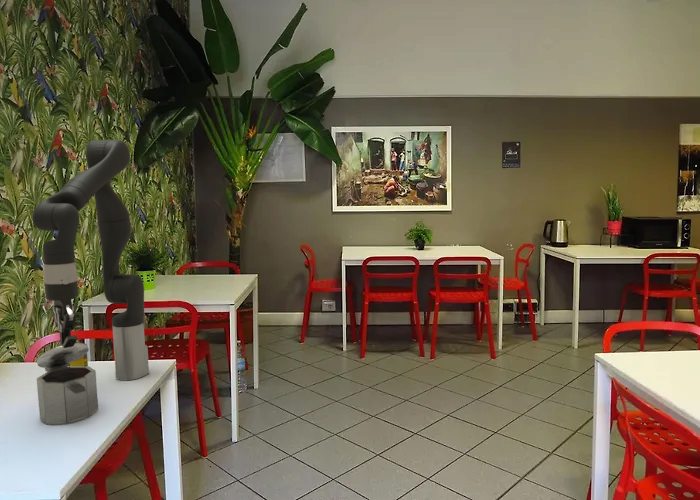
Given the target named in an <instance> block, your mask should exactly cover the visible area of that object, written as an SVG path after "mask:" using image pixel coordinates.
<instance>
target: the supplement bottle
mask: <svg viewBox="0 0 700 500" xmlns="http://www.w3.org/2000/svg"><path fill="white" fill-rule="evenodd" d="M88 360H89V359H88V352H87V353H86V354H85V355H84V356H83V357H81V358H80V359H78V360H76V361H73V362H71V363H70V366H68V367H75V366H89V362H88Z"/></svg>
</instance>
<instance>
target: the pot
mask: <svg viewBox="0 0 700 500" xmlns="http://www.w3.org/2000/svg"><path fill="white" fill-rule="evenodd" d="M36 388H37V397H38V398H37V401H38V410H39V412H38V413H39V420H40V422H41V423H43V424H45V425H47V426H49V425H50V426H61V425H69V424H74V423H77V422H80V421H84V420H86V419H89V418H91V417H92V416H94V415H95V414H96V413H97V412H98V410H99V400H98V399H99V397H98V387H97V372H96V370H95V369H93V368H92V367H90V366H89V365H88V366H75V367H69V366H68V367H64V368H59V369H55V370H51V371H45V373H43V374H41V375H40V376H38V377H36Z"/></svg>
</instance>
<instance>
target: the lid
mask: <svg viewBox="0 0 700 500" xmlns="http://www.w3.org/2000/svg"><path fill="white" fill-rule="evenodd" d="M77 340H78V335H77V334H74V335H71V336H68V337H66V339H65V341H64V343H63V345H61V344H60V345H58V346H55V347H53V348H51V349H49V350H48V349H47V350H46V351H45V352H43V353H42V354H41V355H39V356H38V358H37V359H36V363H37V366H38V367H39V368H43V369H44V371H45V372H47V371H51V370H55V369H59V368H64V367H69V366H70V363H71V362H73V361H76V360H78V359H80V358H81V357H83V356H84V355H85V354H86V353H87V354H88V352H89V347H88V345H87V344H86V343H84V342H77Z"/></svg>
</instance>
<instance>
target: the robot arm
mask: <svg viewBox="0 0 700 500" xmlns="http://www.w3.org/2000/svg"><path fill="white" fill-rule="evenodd" d="M85 149H86V152H85V155H86V157H85V158H86V163H87V169H86V170H83V171H81V172H79V173H77V174H76V175H74V176H73V177H72V178H70V179H69V180H68V181H67V182H66V183H65V184H64V185H63V187H62V188H61V189H60V190H59V191H57V192H56V193H53V194H52V195H50V196H48V197H47V198H45V199H43V200H42V201H41V202H39V204H38V205H36V206H35V208H34V210H33V212H32V219H31V220H32V222H33V225H34V226H35V227H36V228H37V229H38V230H41V231H46V232H58V233H57V235H56V238H55V239H51V240H48V241H45V242H44V243H43V246H42V252H43V264H44V265H43V267H44V268H43V277H44V278H43V279H44V280H43V281H44V290H45V291H44V292H45V299H46V300H47V301H52V302H53V306H52V307H51V308H50V311H51V313H52V318H53V321H54V324H55V327H56V328H57V330H58V332H59V340H60V346H61V345H63V343H64V341H65V339H66V337H68V336H72V333H71V332H72V331H73V330H75V325H76V321H77V318H78V314H77V313H76V312H75V308H74V307H75V305H74V304H73V302H72V300H73V299H77V298H78V296H79V283H78V271H77V265H76V259H75V243H76V239H77V233H78V228H79V224H80V214H79V212H78V211H81V210H82V209H83V208H84V207H85V206H86V205H87V204H88V202H90V200H91V199H92V197H94V202H95V203H94V204H95V208H96V209H95V210H96V218H97V219H96V220H97V227H98V234H99V241H100V248H101V255H102V256H101V257H102V278H103V279H102V281H103V283H102V285H103V293H104V296H105V300H106V301H108V303H110V304H126V310H125V311H122V312H120V313H118V314H115V315H113V316H112V321H111V322H112V323H111V325H112V337H113V339H112V340H113V353H114V366H115V371H114V372H115V378H116V380H119V381H131V380H136V379H140V378H143V377H145V376H146V375H149V374H150V367H149V365H150V364H149V353H148V352H149V350H148V348H149V347H148V345H147V344H145V342H146V341H145V328H144V327H145V326H144V316H145V315H144V314H145V286H144V282H143V281H144V280H143V279H142V277H141V276H140V275H138V274H121V273H120V272H121V271H120V261H121V257H122V255H123V253H124V250H125V248H126V246H127V245H128V243H129V241H130V239H131V235H132V225H131V219H130V218H131V217H130V212H129V210H128V209H127V206H126V205H125V203H124V202H123V201H122V200H121V198H120V197H119V196H118V194H117V193H116V192H115V189H114V188H113V186H112V184H111V182H110V181H111V180H112V179H113V178H115V177H116V176H118V174H120V173H121V172H123V171H124V170H125V169H126V168H127V167H128V165H129V163H130V160H131V152H130V148H129V147H128V145H127V143H126V142H124V141H123V140H120V139H95V140H90V141H89V142H88V143H87V145H86V148H85Z"/></svg>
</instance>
